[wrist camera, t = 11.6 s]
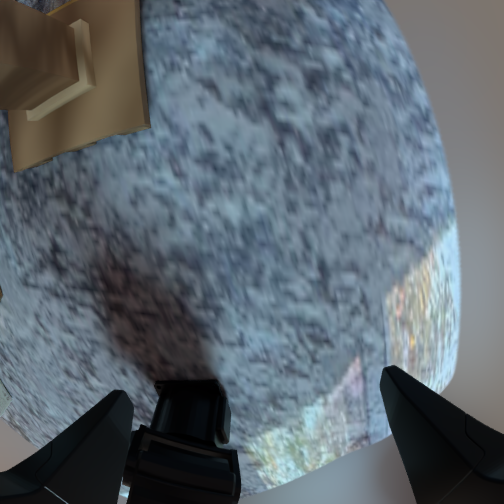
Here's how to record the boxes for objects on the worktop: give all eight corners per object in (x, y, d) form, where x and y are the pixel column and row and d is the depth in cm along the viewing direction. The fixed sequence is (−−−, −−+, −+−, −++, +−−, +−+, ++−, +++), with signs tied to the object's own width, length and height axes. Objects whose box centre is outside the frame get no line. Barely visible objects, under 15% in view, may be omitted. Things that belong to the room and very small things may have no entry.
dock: (32, 168, 18) (13, 173, 16) (26, 44, 14) (9, 39, 12) (159, 125, 18) (146, 123, 15) (146, -14, 13) (135, -28, 11)
